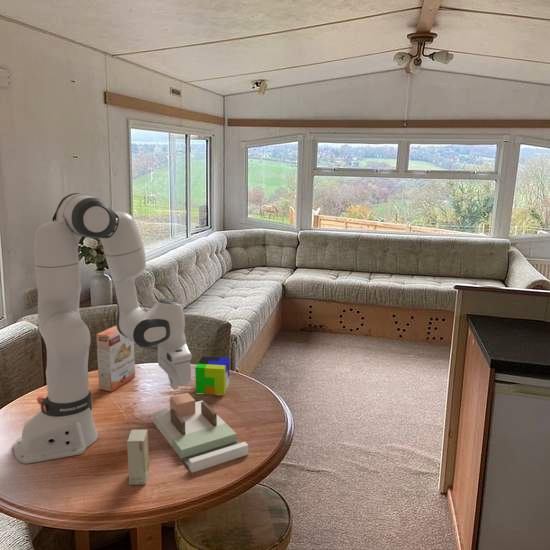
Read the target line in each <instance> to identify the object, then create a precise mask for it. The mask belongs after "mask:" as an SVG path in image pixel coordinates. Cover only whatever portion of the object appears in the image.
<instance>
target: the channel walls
mask: <svg viewBox="0 0 550 550" xmlns="http://www.w3.org/2000/svg"><path fill="white" fill-rule="evenodd" d="M170 414H171V423H172V424H173V425H174V426H175V427H176V429H177V430H178V431H179V432H180V433H181V435H185V421H184V420H183V419H182V418H181V417H180V416H179V415H178V413H177V412H176V411H175V410H174V409H171V410H170ZM201 414H202V415H203V416H204V417H205V418H206V419H207V420H208V421H209V422H210V423H211V424H212V425H213V426H217V415H218V414H217V412H216V411H215V410H214V409H213V408H212V407H211V406H209V404H208V403H207V402H205V401H204V400H203V402H201Z"/></svg>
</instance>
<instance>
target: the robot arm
mask: <svg viewBox="0 0 550 550" xmlns="http://www.w3.org/2000/svg"><path fill="white" fill-rule="evenodd" d="M140 233H141V232H140V230H139V229H138V226H137V223H136V221H135V219H134V217H133V216H132V215H131V214H129V213H128V212H125V211H114V210H113V209H112V208H111V206H110V205H108V203H107V202H105V201H104V200H102V199H100V198H97V197H95V196H93V195H91V194H86V193H78V192H77V193H76V192H75V193H70V194H68V195H66V196H64V197H63V198H62V199H61V200H60V202H58V205H57V208H56V210H55V212H54V214H53V217H52V219H51V221H48V222H44V223H42V224H41V225H39V226H38V227H37V228H36V230H35V236H34V242H33V244H34V246H33V247H34V248H33V256H34V257H33V259H34V267H35V277H36V279H35V280H36V289H37V320H38V322H37V323H38V330H39V333H40V335H41V337H42V339H43V341H44V343H45V347H46V370H45V377H46V378H45V379H46V380H45V381H46V390H47V396H46V397H45V396H44V395H39V396H38V397H36V400H37V404H38V405H40V411H39V412H38V413H36V414H35V415H34V416H33V417H32V418H31V419H29V420H27V422H25V424H24V425H23V428H22V432H21V437H18V438H17V439H16V441H15V442H14V445H13V455H14V457H15V459H16V460H17V461H18V462H19V463H22V464H33V463H38V462H43V461H49V460H56V459H60V458H66V457H72V456H73V457H74V456H78V455H81V454H83V453H84V452H85V451H86V450H87V448H88V447H89V446H91V445H93V444H94V443H96V441H97V439H98V438H99V432H98V429H97V428H96V424H95V420H94V418H93V412H92V409H93V398H92V392H91V391H90V383H89V382H90V381H89V368H88V367H89V366H88V364H89V358H90V357H89V355H90V354H89V353H90V346H91V333H90V329H89V327H88V325H87V324H86V323H85V322H84V320H83V319H82V318H81V313H80V297H81V292H82V283H81V282H82V280H81V279H82V278H81V269H80V260H79V259H80V258H79V251H78V250H79V245H80V241H81V239H82V238H83V237H85V238H89V239H99V240H100V242H101V245H102V249H103V253H104V257H105V259H106V260H105V261H106V263H107V267H108V270H109V273H110V276H111V280H112V287H113V289H114V294H115V295H114V296H115V299H116V300H115V301H116V305H117V314H116V320H115V326H117V329H118V331H119V333H120V334H121V335H123V336H125V337H127V338H129V339H130V340H131V341H132V342H134V345H137V346H139V347H142V348H146V349H147V348H151V347H154V346H156V345H157V363H158V364H157V365H158V366H159V367H160V368H161V370H163V371H164V372H165V373H166V374H167V377H168V380H169V385H170V387H171V388H172V389H173V390H174V391H175V390H179V387H184V386H188V385H190V384H191V382H192V381H191V380H192V366H191V361H190V360H192V358H193V355H192V353H191V351H190V349H189V347H188V345H187V344H188V343H187V342H186V341H187V340H186V338H187V337H186V334H185V327H186V324H185V323H186V322H185V321H186V320H185V313H184V308H183V305H182V303H181V302H180V301H178V300H175V299H173V298H160V299H158V300H157V302H156V303H155V304H154V305H153V306H152V307H151V308H150V309H149V310H147V311H145V310H144V309H143V308H142V307H141V306H140V303H139V301H138V295H137V290H136V284H135V280H136V278H137V277H139V276H140V275H141V274H142V273H143V272H144V270H145V269H146V267H147V266H146V260H147V259H146V252H145V247H144V244H143V240H142V236H141V234H140Z"/></svg>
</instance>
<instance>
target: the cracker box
mask: <svg viewBox="0 0 550 550" xmlns="http://www.w3.org/2000/svg"><path fill="white" fill-rule="evenodd" d="M96 353H97V354H96V355H97V357H96V358H97V371H98V373H97V374H98V388H99V390H101V391H106V392H111V393H112V392H114V391H115V390H117V389H118V388H120V387H122V386H123V385H125V384H126V383H128V382H130V381H131V380H133V379H134V378H135V377H136V370H135V369H136V367H135V343H134V342H132V341H131V340H130V339H129V338H127V337H125V336H123V335H121V334H120V333H119V331H118V329H117V326H116V325H114V326H111V327H109V328H107V329H105V330H103V331H101V332H98V333H96Z"/></svg>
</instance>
